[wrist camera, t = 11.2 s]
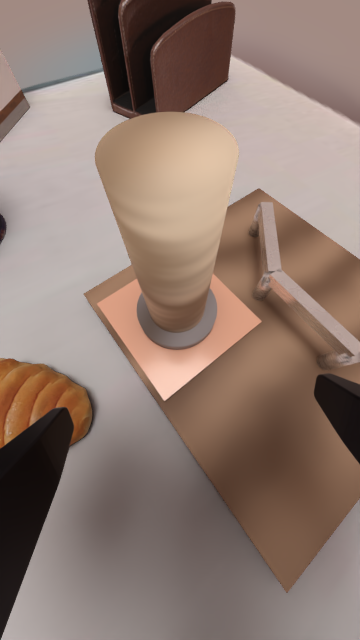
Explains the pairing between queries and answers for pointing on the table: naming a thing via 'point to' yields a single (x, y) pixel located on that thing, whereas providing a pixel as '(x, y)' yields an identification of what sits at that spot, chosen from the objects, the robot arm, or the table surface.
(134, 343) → the pad
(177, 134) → the peg
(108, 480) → the table surface
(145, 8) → the letter holder
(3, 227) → the storage jar
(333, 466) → the board
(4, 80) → the grooved white pillar
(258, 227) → the bent metal bar
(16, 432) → the pastry
